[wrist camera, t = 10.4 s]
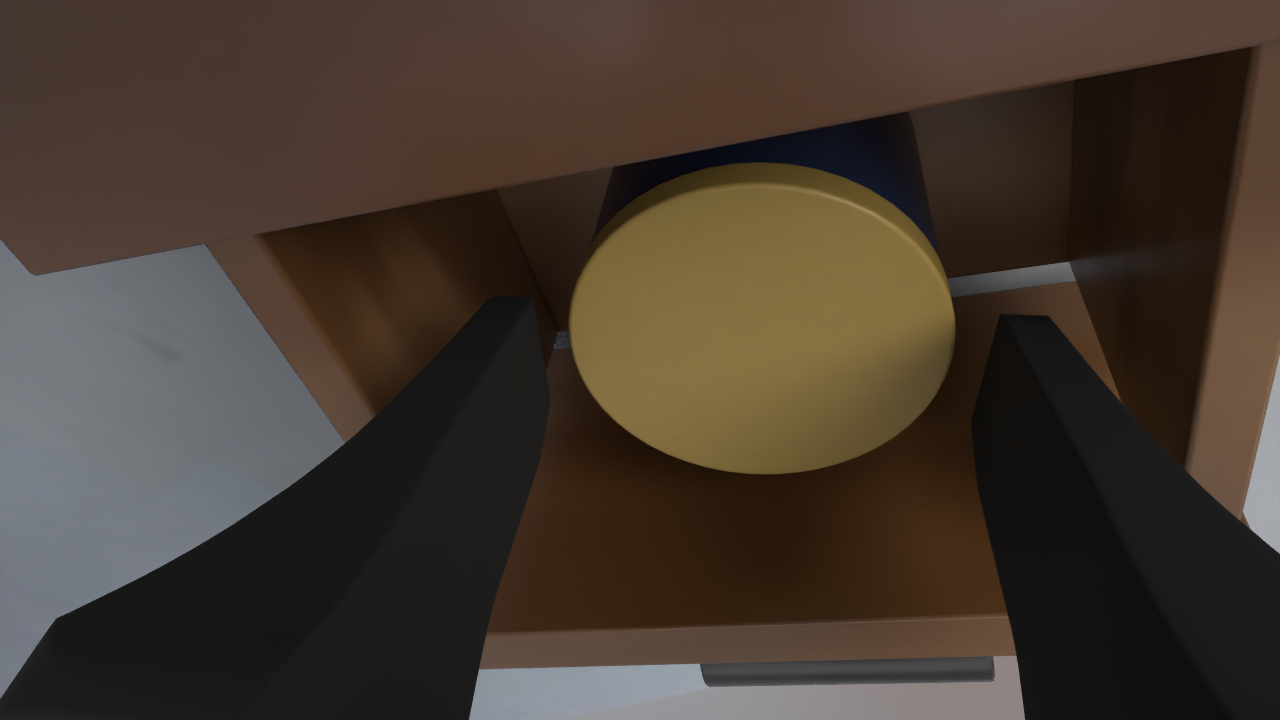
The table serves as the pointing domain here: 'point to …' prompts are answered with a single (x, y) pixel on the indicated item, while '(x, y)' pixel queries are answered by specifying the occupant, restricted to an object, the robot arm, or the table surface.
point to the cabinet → (482, 95)
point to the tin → (767, 299)
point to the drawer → (884, 477)
